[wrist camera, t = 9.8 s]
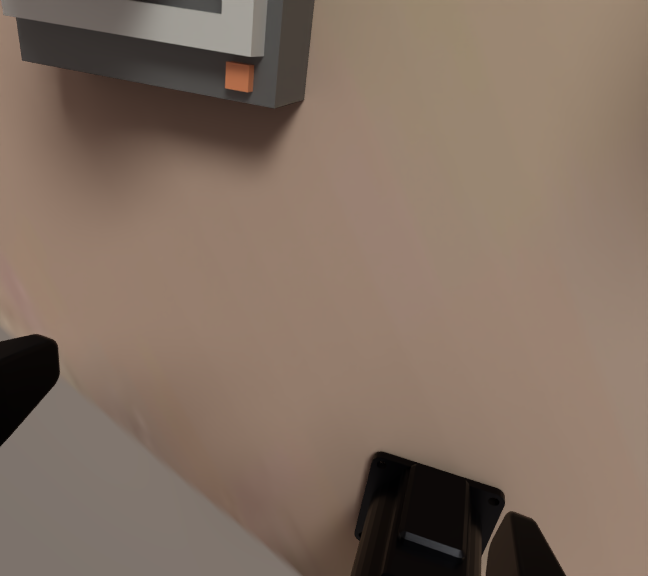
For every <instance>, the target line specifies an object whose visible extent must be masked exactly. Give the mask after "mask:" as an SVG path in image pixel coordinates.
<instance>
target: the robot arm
mask: <svg viewBox="0 0 648 576" xmlns="http://www.w3.org/2000/svg"><path fill="white" fill-rule="evenodd" d="M59 374H60V368H59V354H58V345H57V343H56V341H54V340H53V339H50V338H48V337H45V336H42V335H39V334H33V335H28V336H24V337H19V338H14V339H10V340H6V341H1V342H0V446H1V445H2V444H3V443H4V442H5V441H6V440H7V439H8V438H9V437H10V436H11V434H12V433H13V432H14V431H15V430H16V429H17V428H18V426H19V425H20V424H21V423H22V422H23V421H24V420H25V418H26V417H27V416H28V415H29V414H30V413H31V411H32V410H33V409H34V408H35V407H36V406H37V405H38V404H39V402H40V401H41V400H42V399H43V398H44V397H45V395H46V394H47V393H48V392H49V391H50V390H51V389H52V387H53V386H54V385H55V384H56V382H57V380H58V378H59ZM380 461H383V462H385V463H381V462H380ZM492 498H496V499H492ZM504 505H505V495H504V493H503V492H502V491H501V490H500V489H498V488H495V487H492V486H488V485H485V484H482V483H479V482H476V481H473V480H470V479H467V478H464V477H460V476H457V475H454V474H451V473H448V472H445V471H442V470H439V469H435V468H432V467H429V466H426V465H423V464H420V463H417V462H414V461H411V460H407V459H404V458H401V457H398V456H395V455H392V454H389V453H386V452H377V453H376V454H375V455H374V457H373V460H372V464H371V468H370V472H369V476H368V480H367V484H366V488H365V492H364V496H363V500H362V504H361V509H360V513H359V517H358V521H357V525H356V529H355V537H356V538H357V539H358V540H359V541H360V542H359V546H358V550H357V553H356V557H355V561H354V565H353V568H352V572H351V576H481V557H482V554H483V552H484V550H485V548H486V545H487V543H488V541H489V539H490V537H491V534H492V532H493V530H494V528H495V525H496V523H497V521H498V519H499V516H500V514H501V512H502V510H503V508H504ZM486 576H566V575H565V573H564V571H563V569H562V567H561V566H560V564H559V562H558V560H557V559H556V557H555V555H554V553H553V551H552V550H551V548H550V546H549V544H548V543H547V541H546V539H545V537H544V536H543V534H542V532H541V530H540V528H539V527H538V525H537V523H536V522H535V521H534V520H533V519H532V518H529V517H527V516H524V515H521V514H519V513H516V512H513V511H510V512H508V513H507V514H506V515H505V517H504V519H503V521H502V523H501V524H500V526H499V528H498V530H497V532H496V534H495V536H494V538H493V539H492V542H491V544H490V548H489V552H488V559H487V568H486Z"/></svg>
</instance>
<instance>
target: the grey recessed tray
mask: <svg viewBox="0 0 648 576" xmlns="http://www.w3.org/2000/svg"><path fill="white" fill-rule="evenodd" d="M1 2H2V8H3V15H6V16H12V17H16V21H17V28H18V35H19V42H20V49H21V56H22V61H27V62H32V63H38V64H43V65H48V66H54V67H59V68H64V69H69V70H75V71H80V72H85V73H90V74H96V75H101V76H106V77H112V78H117V79H122V80H127V81H133V82H138V83H143V84H148V85H154V86H159V87H164V88H169V89H175V90H180V91H185V92H191V93H196V94H201V95H206V96H212V97H217V98H222V99H227V100H233V101H238V102H243V103H248V104H254V105H259V106H264V107H270V108H278V107H281V106H284V105H288V104H291V103H295V102H298V101H301V100H304V94H305V85H306V75H307V66H308V56H309V47H310V37H311V28H312V19H313V9H314V0H1Z"/></svg>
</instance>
